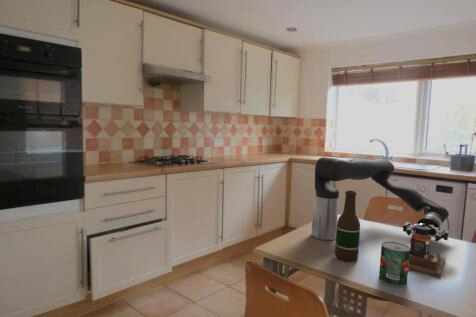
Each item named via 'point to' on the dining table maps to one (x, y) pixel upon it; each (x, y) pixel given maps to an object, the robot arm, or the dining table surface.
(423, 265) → the walnut dock
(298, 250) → the dining table surface
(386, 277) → the canned tomato
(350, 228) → the beer bottle
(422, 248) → the supplement bottle
